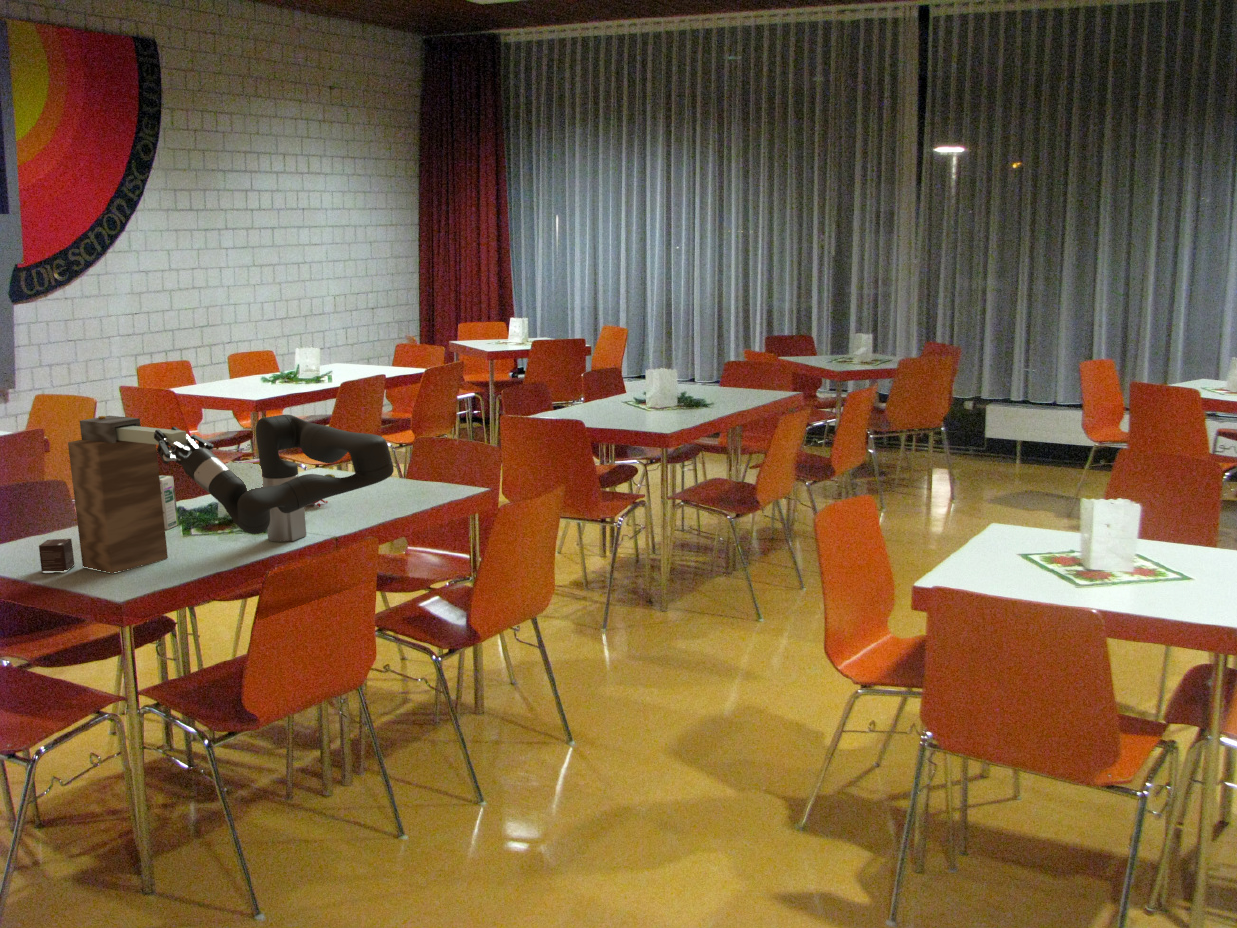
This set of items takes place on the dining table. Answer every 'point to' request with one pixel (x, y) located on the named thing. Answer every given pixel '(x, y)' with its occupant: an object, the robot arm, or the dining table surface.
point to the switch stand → (116, 497)
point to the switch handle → (147, 434)
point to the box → (56, 555)
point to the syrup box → (168, 502)
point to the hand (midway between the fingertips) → (164, 431)
